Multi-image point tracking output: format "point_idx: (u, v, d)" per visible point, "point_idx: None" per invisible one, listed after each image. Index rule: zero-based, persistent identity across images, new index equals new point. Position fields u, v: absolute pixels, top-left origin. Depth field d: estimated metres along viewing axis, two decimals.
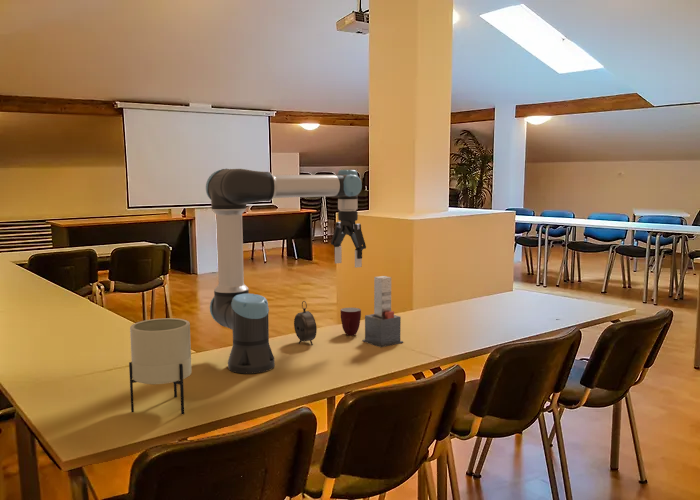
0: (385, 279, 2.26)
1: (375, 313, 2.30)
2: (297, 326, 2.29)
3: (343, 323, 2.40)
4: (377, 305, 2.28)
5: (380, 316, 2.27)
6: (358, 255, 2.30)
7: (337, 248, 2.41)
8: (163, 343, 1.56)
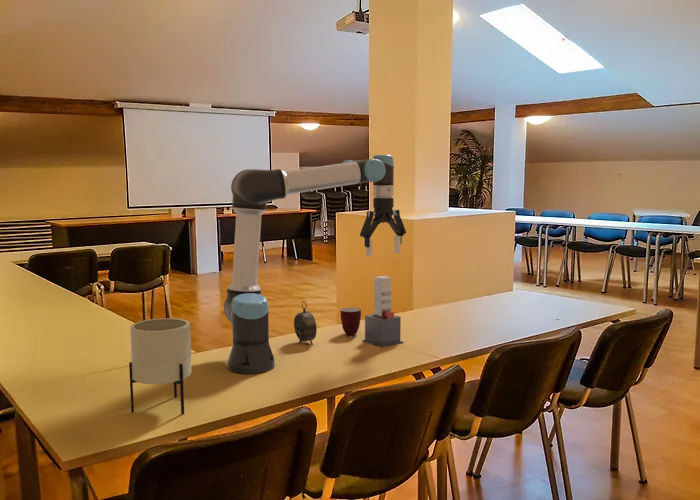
0: (385, 279, 2.26)
1: (375, 313, 2.30)
2: (297, 326, 2.29)
3: (343, 323, 2.40)
4: (377, 305, 2.28)
5: (380, 316, 2.27)
6: None
7: (395, 237, 2.31)
8: (163, 343, 1.56)
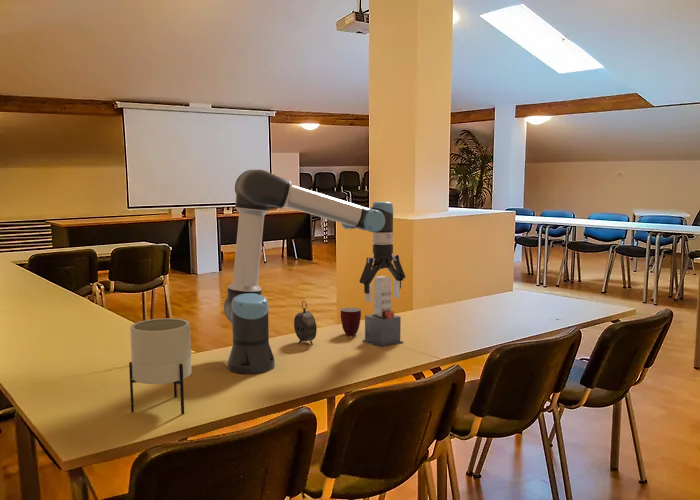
0: (385, 279, 2.26)
1: (375, 313, 2.30)
2: (297, 326, 2.29)
3: (343, 323, 2.40)
4: (377, 305, 2.28)
5: (380, 316, 2.27)
6: None
7: (395, 282, 2.33)
8: (163, 343, 1.56)
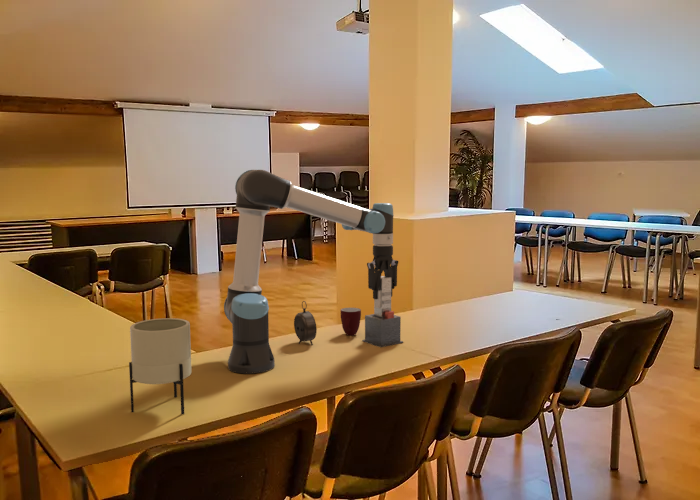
0: (385, 279, 2.26)
1: (375, 313, 2.30)
2: (297, 326, 2.29)
3: (343, 323, 2.40)
4: None
5: (380, 316, 2.27)
6: None
7: None
8: (163, 343, 1.56)
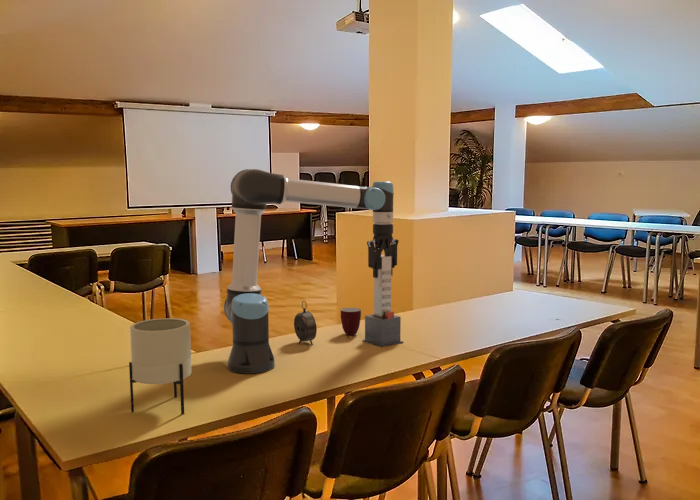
0: (385, 258, 2.25)
1: (375, 292, 2.29)
2: (297, 326, 2.29)
3: (343, 323, 2.40)
4: None
5: (380, 295, 2.26)
6: None
7: None
8: (163, 344, 1.56)
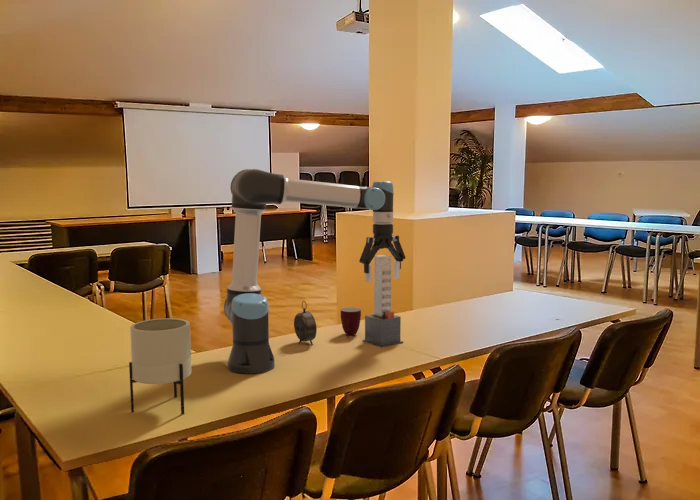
0: (385, 258, 2.25)
1: (375, 292, 2.29)
2: (297, 326, 2.29)
3: (343, 323, 2.40)
4: (377, 284, 2.28)
5: (380, 295, 2.26)
6: None
7: (395, 262, 2.32)
8: (163, 343, 1.56)
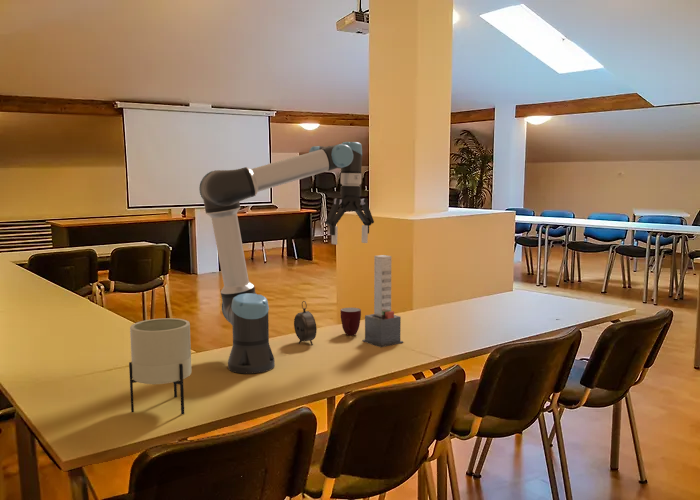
0: (385, 258, 2.25)
1: (375, 292, 2.29)
2: (297, 326, 2.29)
3: (343, 323, 2.40)
4: (377, 284, 2.28)
5: (380, 295, 2.26)
6: None
7: (363, 226, 2.28)
8: (163, 343, 1.56)
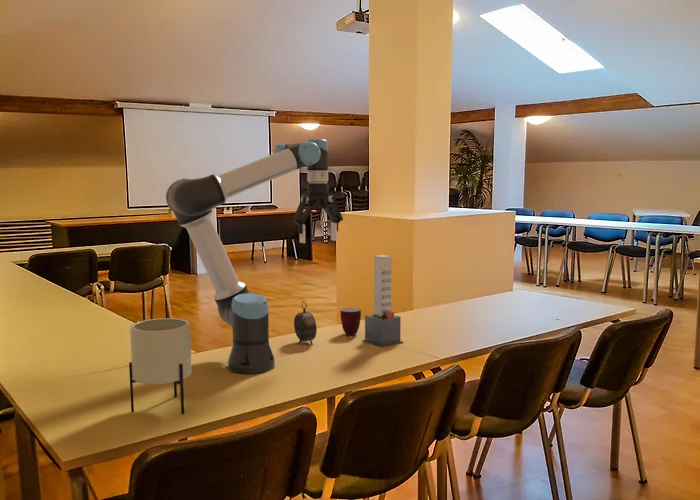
0: (385, 258, 2.25)
1: (375, 292, 2.29)
2: (297, 326, 2.29)
3: (343, 323, 2.40)
4: (377, 284, 2.28)
5: (380, 295, 2.26)
6: None
7: (332, 224, 2.25)
8: (163, 343, 1.56)
